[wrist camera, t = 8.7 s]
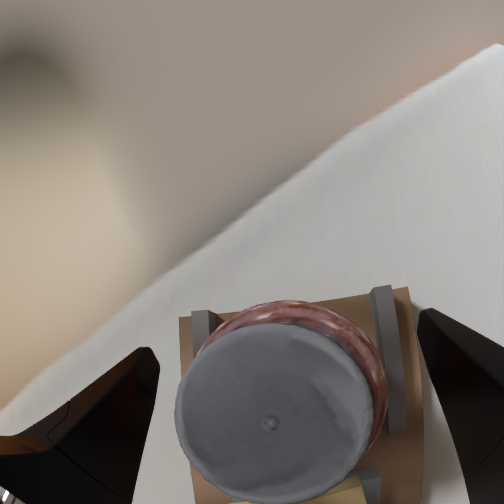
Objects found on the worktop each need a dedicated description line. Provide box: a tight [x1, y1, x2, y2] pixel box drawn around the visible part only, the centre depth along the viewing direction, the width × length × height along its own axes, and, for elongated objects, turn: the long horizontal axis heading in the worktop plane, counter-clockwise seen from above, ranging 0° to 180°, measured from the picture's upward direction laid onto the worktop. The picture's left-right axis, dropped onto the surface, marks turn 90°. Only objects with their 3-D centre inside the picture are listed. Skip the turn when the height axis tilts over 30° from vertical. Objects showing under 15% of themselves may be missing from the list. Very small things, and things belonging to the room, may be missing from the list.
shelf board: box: [179, 285, 423, 504], centre depth 13 cm, size 16×14×5 cm
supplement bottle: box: [174, 300, 388, 504], centre depth 10 cm, size 6×6×11 cm
